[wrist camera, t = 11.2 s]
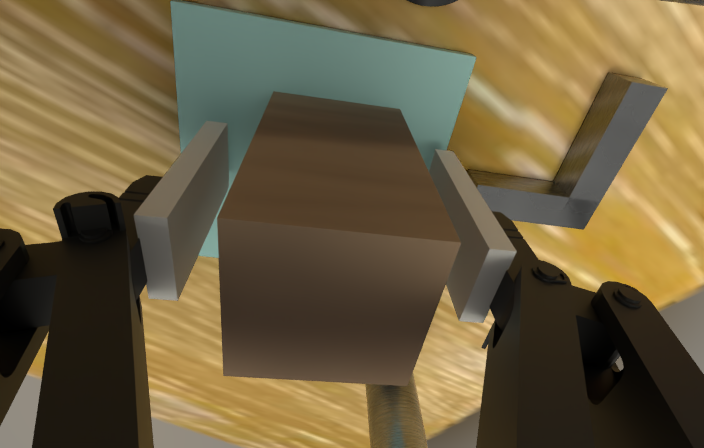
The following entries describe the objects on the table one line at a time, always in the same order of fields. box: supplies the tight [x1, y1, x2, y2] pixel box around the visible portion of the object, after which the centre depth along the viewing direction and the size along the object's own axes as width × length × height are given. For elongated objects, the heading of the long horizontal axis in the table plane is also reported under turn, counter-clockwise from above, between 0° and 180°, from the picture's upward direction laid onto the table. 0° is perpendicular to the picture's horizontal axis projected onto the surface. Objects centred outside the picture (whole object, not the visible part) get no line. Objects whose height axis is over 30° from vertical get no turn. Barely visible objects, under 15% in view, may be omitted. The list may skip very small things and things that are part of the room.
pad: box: [170, 0, 476, 258], centre depth 17 cm, size 11×11×1 cm
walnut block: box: [217, 91, 461, 386], centre depth 13 cm, size 5×5×9 cm
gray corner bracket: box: [467, 73, 668, 229], centre depth 17 cm, size 6×6×2 cm
